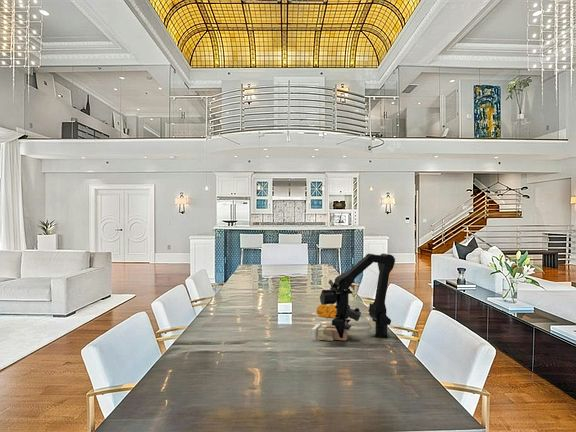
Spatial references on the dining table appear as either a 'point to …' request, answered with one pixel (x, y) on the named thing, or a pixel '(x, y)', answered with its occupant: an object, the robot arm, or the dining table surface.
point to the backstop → (315, 331)
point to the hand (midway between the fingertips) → (342, 336)
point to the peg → (336, 335)
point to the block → (326, 333)
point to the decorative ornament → (326, 311)
